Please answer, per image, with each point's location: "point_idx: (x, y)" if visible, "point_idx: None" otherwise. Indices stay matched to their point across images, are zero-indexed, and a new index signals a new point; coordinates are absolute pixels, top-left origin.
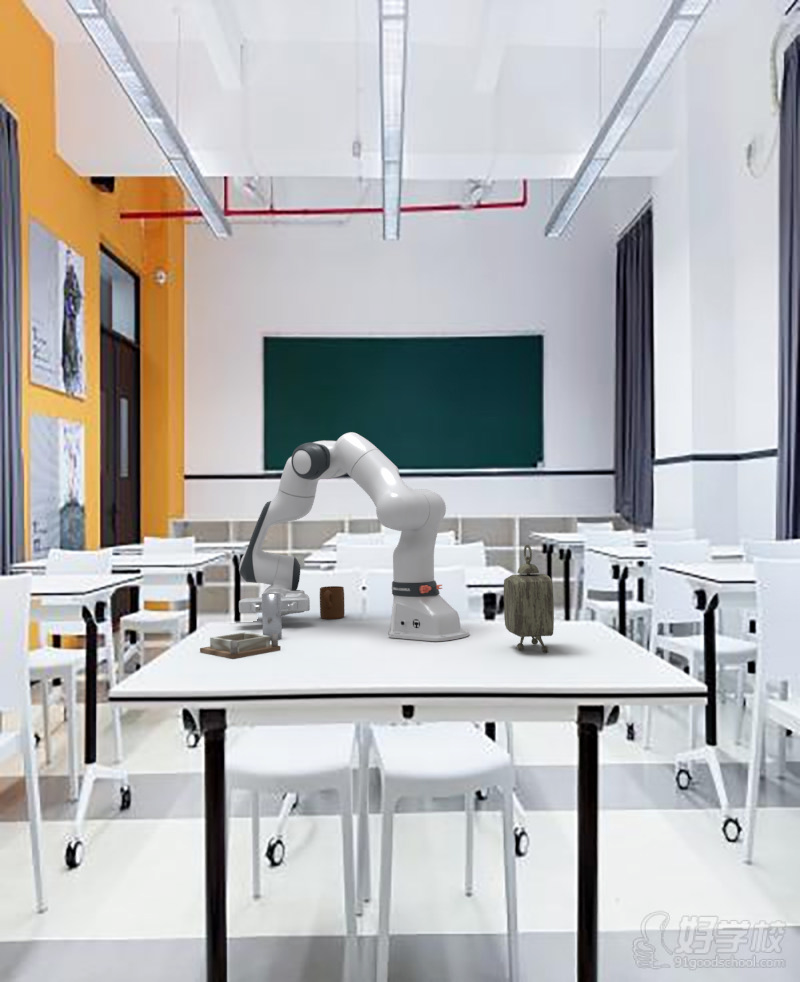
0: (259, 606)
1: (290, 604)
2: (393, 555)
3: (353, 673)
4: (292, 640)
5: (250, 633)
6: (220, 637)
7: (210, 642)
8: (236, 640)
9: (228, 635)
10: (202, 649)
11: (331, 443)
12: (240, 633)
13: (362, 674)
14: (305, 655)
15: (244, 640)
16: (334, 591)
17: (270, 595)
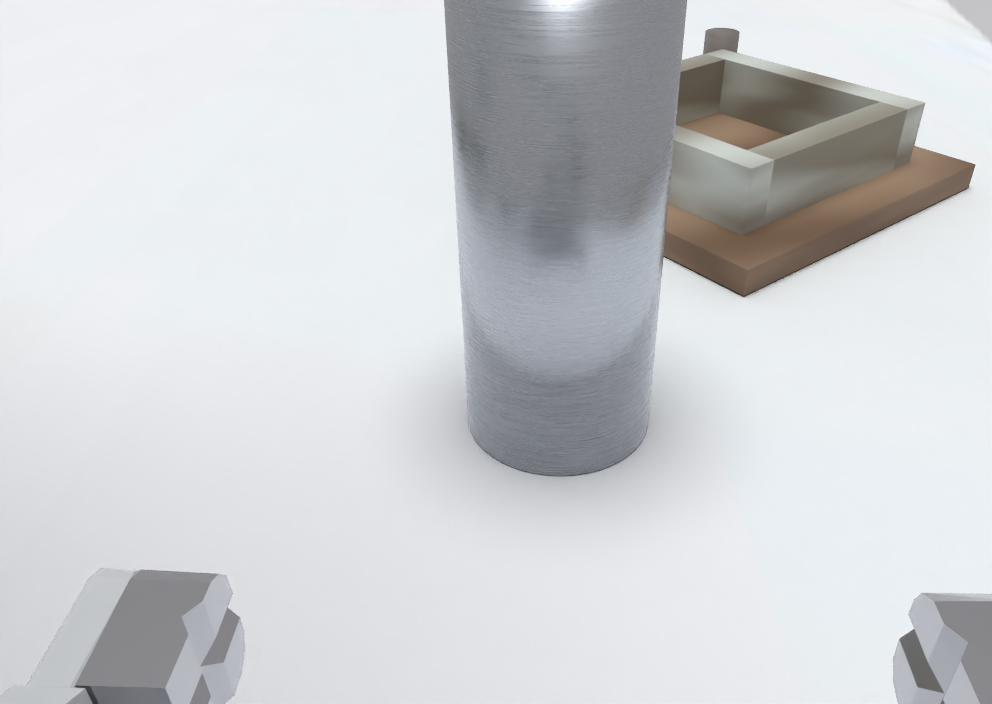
0: (948, 679)
1: (158, 571)
2: None
3: (306, 10)
4: (387, 342)
5: (694, 142)
6: (864, 110)
7: (915, 130)
8: (711, 34)
9: (830, 123)
10: (947, 161)
11: None
12: (768, 147)
13: (287, 6)
14: (391, 111)
15: (681, 61)
16: None
17: None
